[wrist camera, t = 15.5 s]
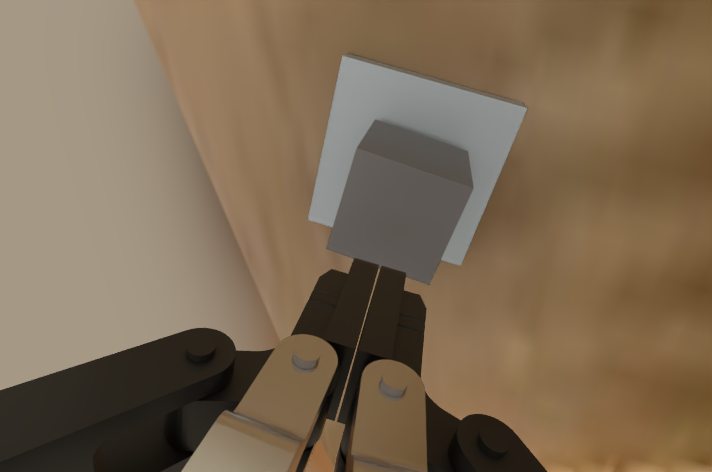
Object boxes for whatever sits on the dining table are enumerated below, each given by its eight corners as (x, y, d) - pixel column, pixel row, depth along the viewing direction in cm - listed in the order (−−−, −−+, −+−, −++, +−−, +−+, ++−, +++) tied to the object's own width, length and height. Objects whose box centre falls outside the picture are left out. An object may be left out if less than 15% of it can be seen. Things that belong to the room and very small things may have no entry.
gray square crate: (467, 151, 25) (473, 188, 20) (432, 233, 28) (429, 285, 23) (375, 119, 26) (356, 147, 20) (348, 204, 28) (326, 248, 23)
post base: (523, 103, 27) (553, 140, 19) (459, 255, 32) (464, 330, 25) (347, 53, 27) (310, 71, 20) (313, 211, 32) (274, 272, 25)
